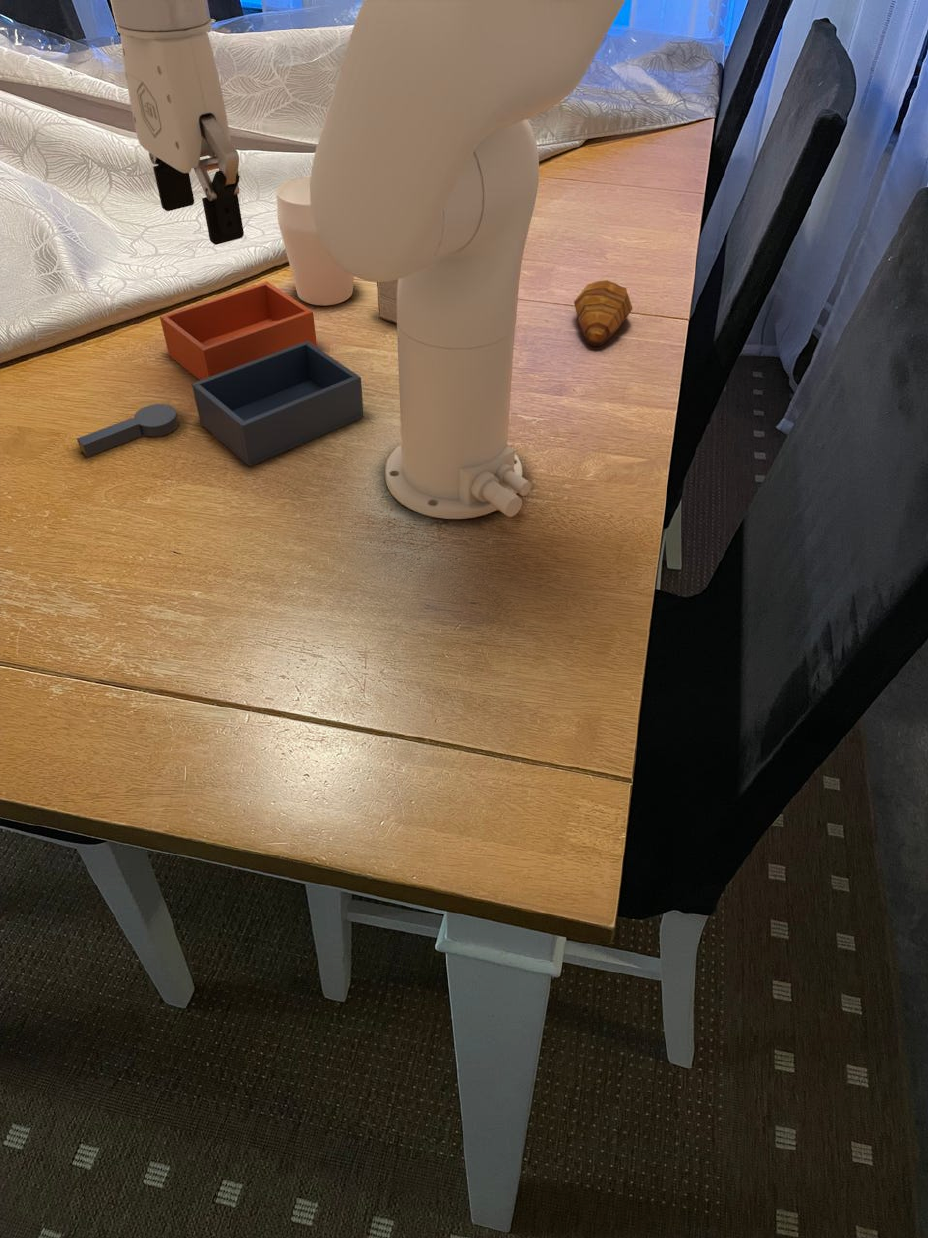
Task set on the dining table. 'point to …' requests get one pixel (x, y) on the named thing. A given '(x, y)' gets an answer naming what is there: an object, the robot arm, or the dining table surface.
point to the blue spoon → (132, 429)
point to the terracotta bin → (236, 329)
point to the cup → (308, 248)
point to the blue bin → (278, 402)
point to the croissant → (602, 310)
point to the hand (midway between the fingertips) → (202, 223)
